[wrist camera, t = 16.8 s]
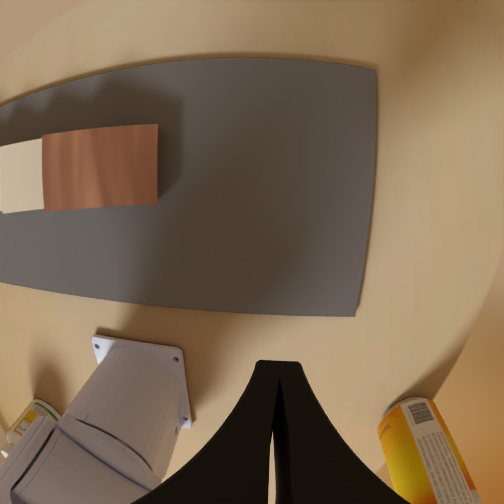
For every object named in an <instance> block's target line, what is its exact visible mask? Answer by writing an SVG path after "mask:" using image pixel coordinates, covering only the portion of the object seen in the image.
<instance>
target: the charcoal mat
mask: <svg viewBox="0 0 504 504" xmlns="http://www.w3.org/2000/svg"><path fill="white" fill-rule="evenodd" d="M146 124H158V151H157V188H158V204H142V205H126V206H111V207H98V208H86V209H75V210H64V211H54V212H44V209H37V210H29V211H21V212H13V213H5V214H3V212H2V211H0V282H2V283H7V284H12V285H17V286H23V287H28V288H33V289H39V290H45V291H51V292H57V293H63V294H69V295H76V296H82V297H89V298H96V299H104V300H111V301H119V302H127V303H136V304H144V305H153V306H163V307H173V308H184V309H195V310H207V311H221V312H235V313H251V314H271V315H295V316H336V317H355V314H356V309H357V304H358V299H359V293H360V288H361V282H362V276H363V269H364V263H365V256H366V249H367V242H368V234H369V226H370V217H371V207H372V197H373V185H374V171H375V153H376V124H377V87H376V70H373V69H368V68H362V67H357V66H350V65H344V64H337V63H329V62H320V61H310V60H299V59H283V58H210V59H195V60H184V61H174V62H165V63H157V64H150V65H144V66H138V67H132V68H126V69H121V70H116V71H111V72H106V73H102V74H98V75H93V76H89V77H85V78H81V79H78V80H74V81H70V82H67V83H64V84H60V85H57V86H54V87H51V88H48V89H45V90H42V91H39V92H36V93H33V94H30V95H28V96H25V97H22V98H20V99H17V100H15V101H12V102H10V103H7V104H5V105H3V106H0V147H1V146H5V145H10V144H15V143H20V142H25V141H30V140H35V139H41V138H42V135H47V134H54V133H60V132H68V131H75V130H83V129H92V128H102V127H114V126H128V125H146Z"/></svg>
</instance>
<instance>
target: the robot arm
mask: <svg viewBox="0 0 504 504" xmlns="http://www.w3.org/2000/svg"><path fill="white" fill-rule="evenodd" d="M91 341H92V344H93V348H94V352H95V355H96V359H97V362H98V367H97V368H96V369H95V371H94V372H93V373H92V375H91V376H90V378H89V379H88V380H87V382H86V383H85V384H84V386H83V387H82V388H81V390H80V391H79V393H78V394H77V395H76V397H75V398H74V400H73V401H72V402H71V404H70V405H69V407H68V408H67V409H66V411H65V412H64V414H63V415H62V417H61V418H60V419H59V420H58V421H56V422H55V420H54V419H53V418H52V417H51V416H49V415H47V416H46V417H44V416H37V417H36V419H35V420H34V421H33V422H32V423H31V425H30V426H29V427H28V429H27V430H26V431H25V433H24V434H23V435H22V436H21V438H20V439H19V441H18V442H17V443H16V445H15V446H14V447H13V449H12V450H11V452H10V453H9V455H8V456H7V457H6V459H5V460H4V462H3V463H2V465H1V466H0V504H268V485H269V459H270V444H271V438H272V432H273V441H274V459H275V477H276V501H275V504H411V503H409V502H408V501H407V500H405V499H404V498H402V497H401V496H400V495H399V494H397V493H396V492H395V491H393V490H392V489H391V488H390V487H388V486H387V485H386V484H385V483H384V482H383V481H382V480H381V479H379V478H378V477H377V476H376V475H375V474H374V473H373V472H372V471H371V470H370V469H369V468H368V467H367V466H366V465H365V464H364V463H363V462H362V461H361V460H360V459H359V458H358V457H357V456H356V454H355V453H354V452H353V451H352V450H351V448H350V447H349V446H348V445H347V444H346V442H345V441H344V440H343V439H342V437H341V436H340V434H339V433H338V432H337V430H336V429H335V427H334V426H333V424H332V423H331V422H330V420H329V418H328V417H327V415H326V414H325V412H324V410H323V409H322V407H321V405H320V404H319V402H318V400H317V398H316V397H315V395H314V393H313V391H312V389H311V387H310V385H309V383H308V380H307V378H306V376H305V374H304V371H303V368H302V365H301V364H300V363H299V362H294V361H272V360H259V361H257V362H256V365H255V369H254V372H253V374H252V377H251V379H250V381H249V383H248V385H247V387H246V389H245V391H244V392H243V394H242V396H241V397H240V399H239V401H238V403H237V404H236V406H235V407H234V409H233V410H232V412H231V413H230V415H229V416H228V417H227V419H226V420H225V422H224V423H223V424H222V426H221V427H220V428H219V429H218V431H217V432H216V433H215V434H214V436H213V437H212V438H211V439H210V440H209V441H208V442H207V443H206V445H205V446H204V447H203V448H202V449H201V450H200V451H199V452H198V453H197V454H196V455H195V456H194V457H193V458H192V459H191V460H190V461H189V462H188V463H186V464H185V465H184V466H183V467H182V468H181V469H180V470H178V471H177V472H176V473H175V474H173V475H172V476H171V477H169V478H168V479H167V480H166V481H164V482H163V483H162V484H161V481H162V479H163V478H164V476H165V475H166V472H167V470H168V466H169V463H170V460H171V457H172V454H173V451H174V447H175V444H176V441H177V438H178V435H179V432H180V429H181V428H187V429H189V428H191V427H192V418H191V411H190V404H189V397H188V390H187V383H186V375H185V367H184V359H183V352H182V350H181V349H180V348H178V347H173V346H165V345H158V344H151V343H144V342H138V341H131V340H125V339H120V338H114V337H108V336H103V335H98V334H94V335H93V336H92V338H91ZM97 344H98V345H99V346H98V345H97ZM174 357H176V358H178V359H179V360H177V359H175V358H174Z"/></svg>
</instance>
